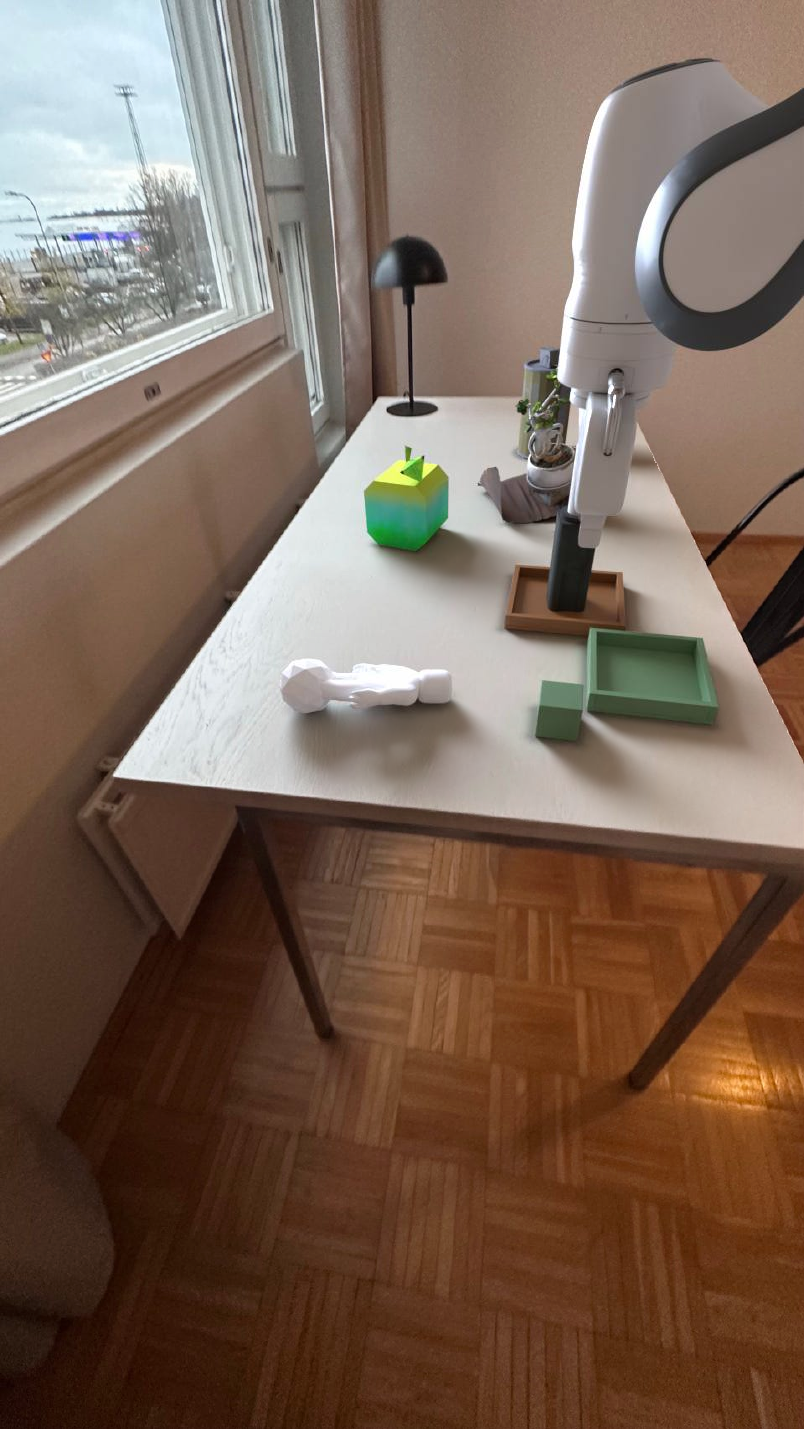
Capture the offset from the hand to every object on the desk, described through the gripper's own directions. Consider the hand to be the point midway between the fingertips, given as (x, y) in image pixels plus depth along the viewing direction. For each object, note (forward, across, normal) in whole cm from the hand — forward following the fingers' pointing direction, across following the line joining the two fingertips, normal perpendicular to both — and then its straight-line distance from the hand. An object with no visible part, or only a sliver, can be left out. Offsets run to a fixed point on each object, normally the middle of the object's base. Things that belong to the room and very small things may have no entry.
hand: (588, 522), depth 59 cm
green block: (+22, -4, 0) cm, 23 cm away
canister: (+22, +85, +7) cm, 88 cm away
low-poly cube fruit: (+22, +41, +27) cm, 54 cm away
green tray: (+22, +6, -10) cm, 25 cm away
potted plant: (+22, +58, +7) cm, 63 cm away
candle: (+22, +22, 0) cm, 31 cm away
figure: (+22, -4, +22) cm, 32 cm away
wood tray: (+22, +22, 0) cm, 31 cm away
